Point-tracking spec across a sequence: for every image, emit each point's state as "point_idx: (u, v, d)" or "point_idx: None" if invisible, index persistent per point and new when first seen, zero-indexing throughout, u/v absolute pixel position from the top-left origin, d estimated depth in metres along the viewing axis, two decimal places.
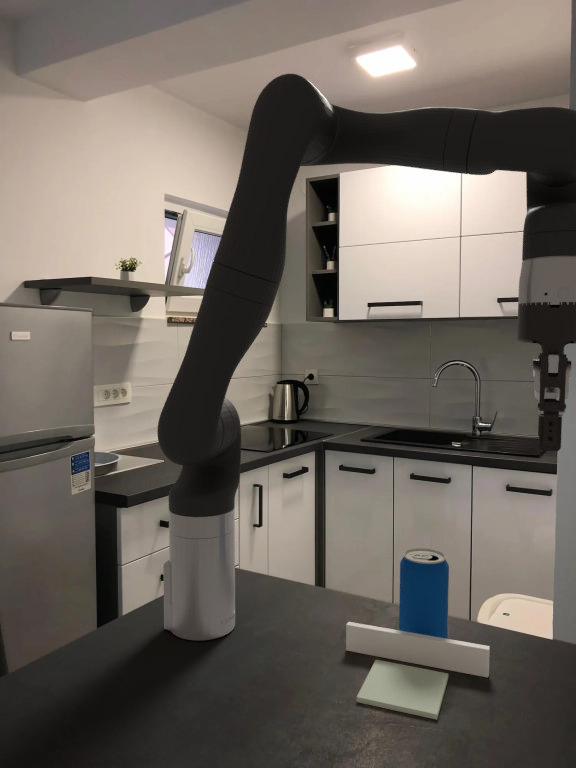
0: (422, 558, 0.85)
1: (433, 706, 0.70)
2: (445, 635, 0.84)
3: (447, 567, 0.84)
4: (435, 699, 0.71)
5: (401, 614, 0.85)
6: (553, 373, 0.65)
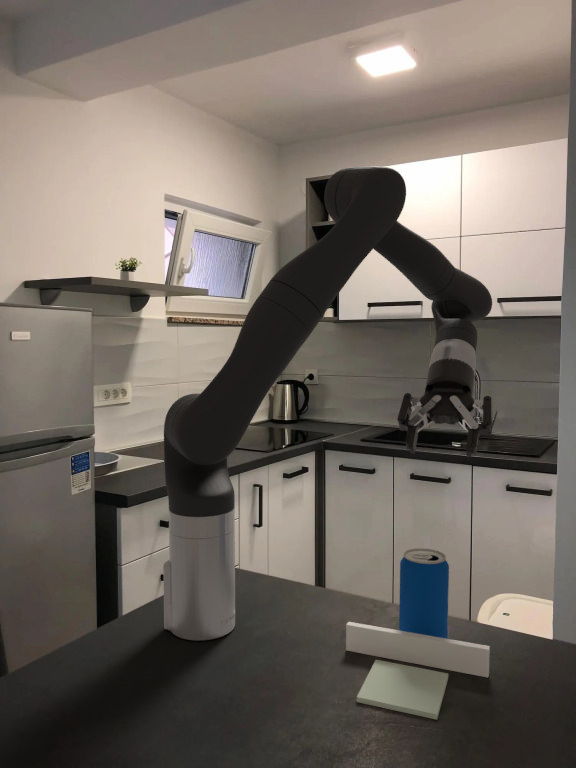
0: (422, 558, 0.85)
1: (433, 706, 0.70)
2: (445, 635, 0.84)
3: (447, 567, 0.84)
4: (435, 699, 0.71)
5: (401, 614, 0.85)
6: None
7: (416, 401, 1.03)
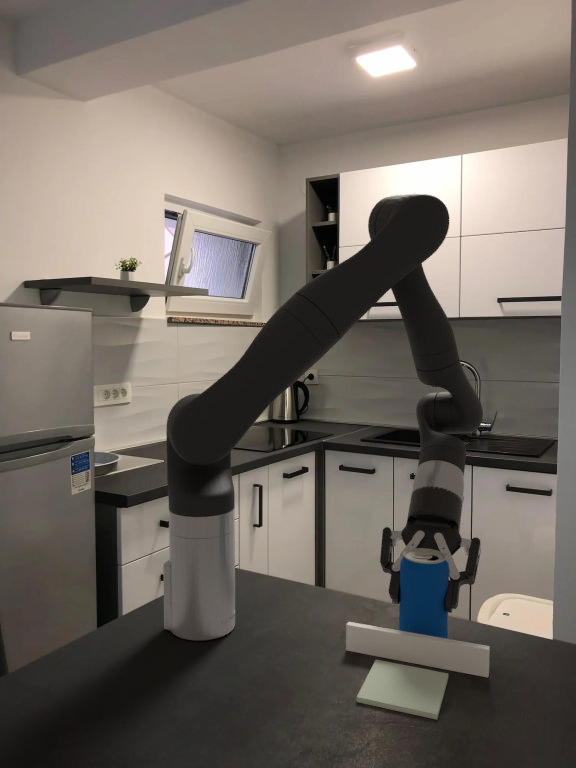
0: (422, 558, 0.85)
1: (433, 706, 0.70)
2: (445, 635, 0.84)
3: (447, 567, 0.84)
4: (435, 699, 0.71)
5: (401, 614, 0.85)
6: None
7: (397, 536, 0.92)
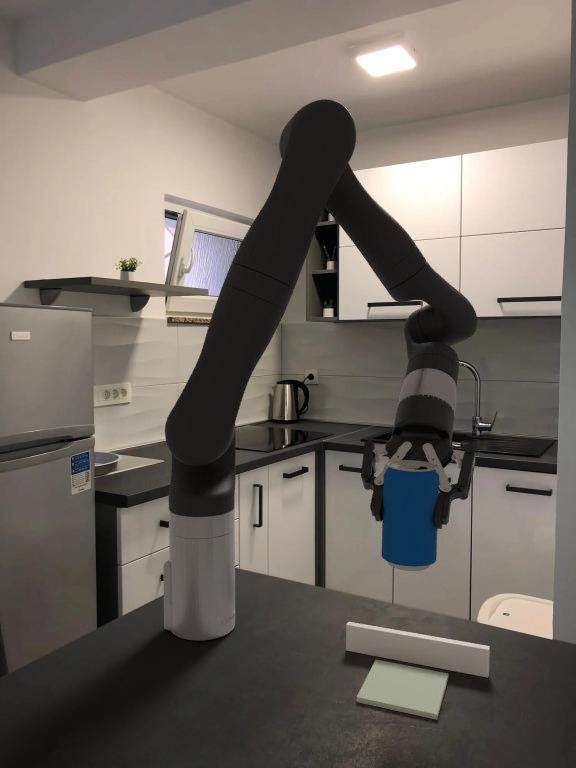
0: (409, 467, 0.74)
1: (433, 706, 0.70)
2: (434, 555, 0.74)
3: (437, 477, 0.73)
4: (435, 699, 0.71)
5: (384, 532, 0.75)
6: None
7: (381, 449, 0.81)
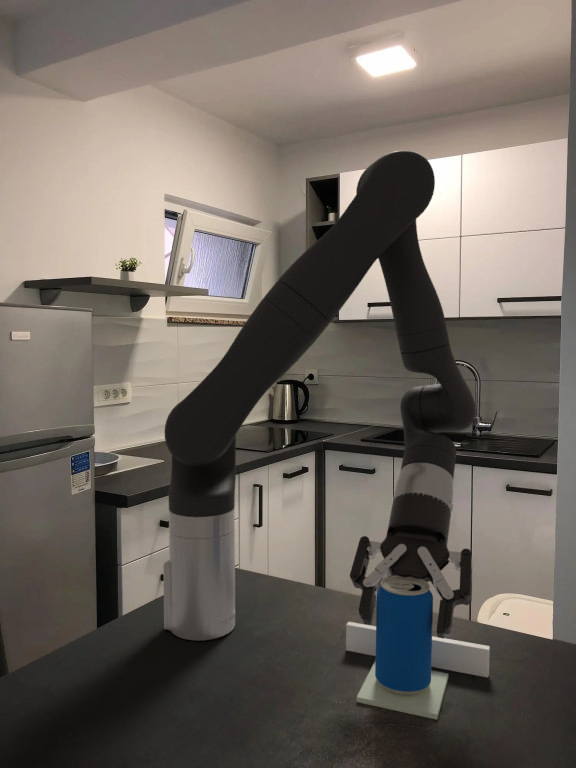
0: (402, 588, 0.73)
1: (433, 706, 0.70)
2: (428, 678, 0.73)
3: (431, 599, 0.72)
4: (435, 699, 0.71)
5: (377, 653, 0.73)
6: None
7: (375, 548, 0.80)
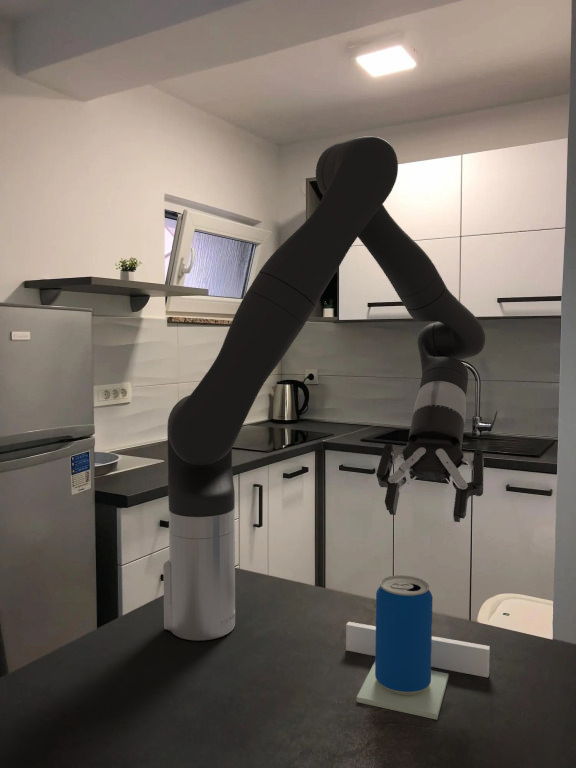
0: (402, 588, 0.73)
1: (433, 706, 0.70)
2: (428, 678, 0.73)
3: (430, 599, 0.72)
4: (435, 699, 0.71)
5: (377, 653, 0.73)
6: None
7: (398, 453, 0.91)
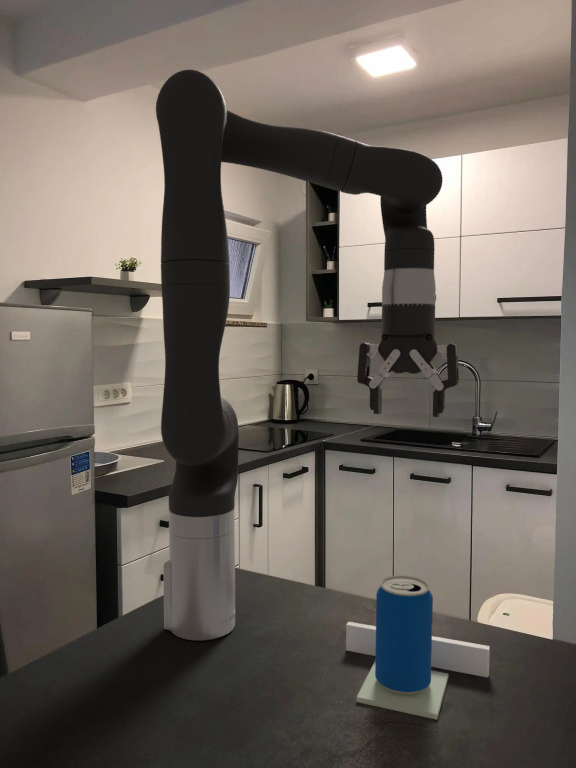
0: (402, 588, 0.73)
1: (433, 706, 0.70)
2: (428, 678, 0.73)
3: (431, 599, 0.72)
4: (435, 699, 0.71)
5: (377, 653, 0.73)
6: None
7: (374, 350, 0.92)
